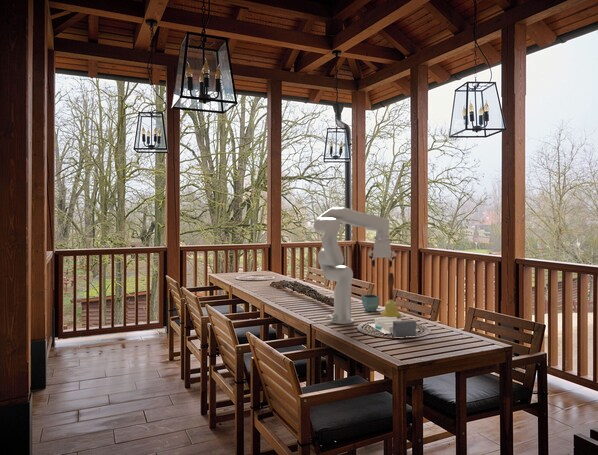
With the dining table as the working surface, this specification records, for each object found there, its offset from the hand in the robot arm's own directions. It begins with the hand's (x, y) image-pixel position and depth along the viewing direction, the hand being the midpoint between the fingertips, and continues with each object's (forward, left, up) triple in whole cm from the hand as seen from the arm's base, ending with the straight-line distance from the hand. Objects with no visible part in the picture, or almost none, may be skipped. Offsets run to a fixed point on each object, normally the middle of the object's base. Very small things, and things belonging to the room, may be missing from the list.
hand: (382, 267), depth 282 cm
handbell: (+4, -5, -28) cm, 29 cm away
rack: (-10, -35, -28) cm, 46 cm away
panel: (-12, -51, -28) cm, 59 cm away
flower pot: (-3, +9, -28) cm, 30 cm away
